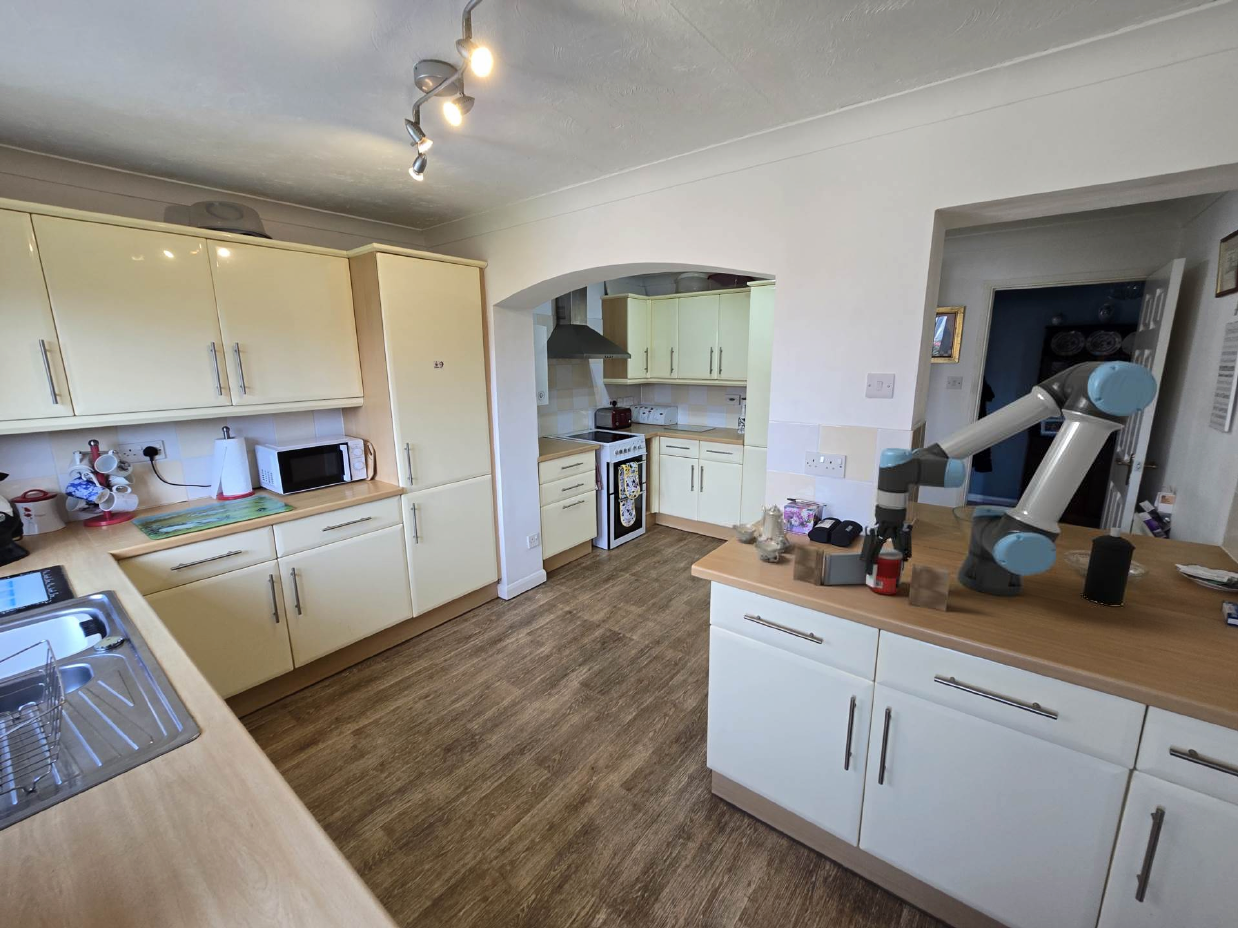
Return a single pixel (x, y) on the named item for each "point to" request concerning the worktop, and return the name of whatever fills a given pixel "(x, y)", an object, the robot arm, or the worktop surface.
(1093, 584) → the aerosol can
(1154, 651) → the worktop surface
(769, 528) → the chinaware
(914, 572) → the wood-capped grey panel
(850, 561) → the door leaf
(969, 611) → the worktop surface
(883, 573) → the canned food
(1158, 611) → the worktop surface
